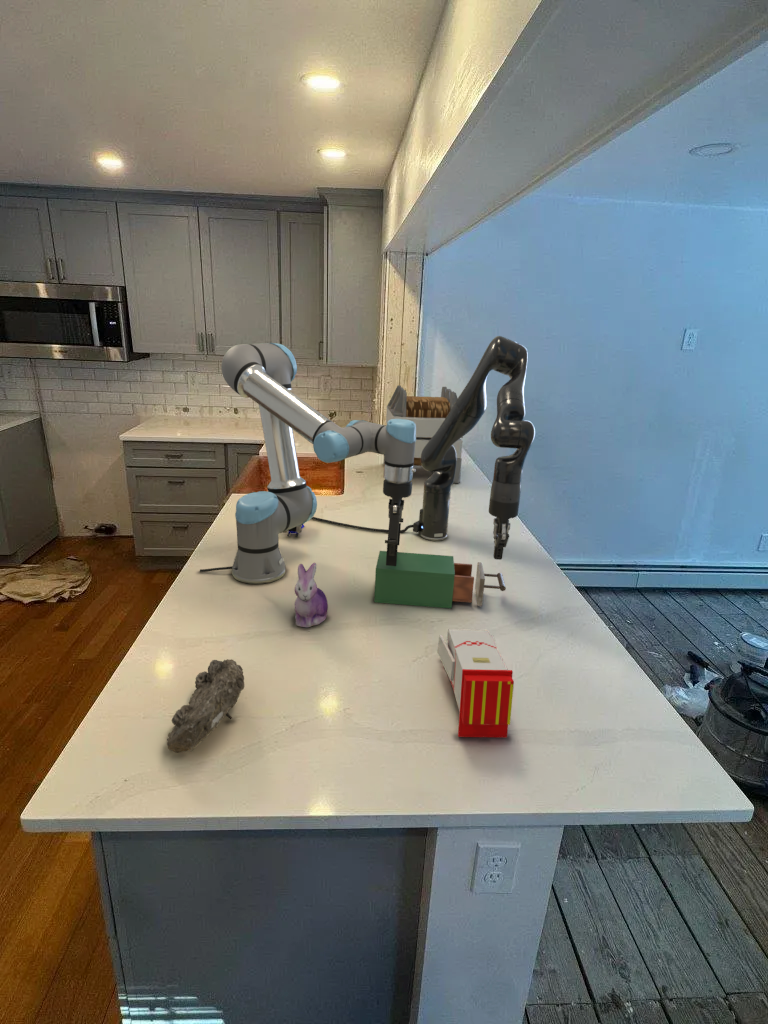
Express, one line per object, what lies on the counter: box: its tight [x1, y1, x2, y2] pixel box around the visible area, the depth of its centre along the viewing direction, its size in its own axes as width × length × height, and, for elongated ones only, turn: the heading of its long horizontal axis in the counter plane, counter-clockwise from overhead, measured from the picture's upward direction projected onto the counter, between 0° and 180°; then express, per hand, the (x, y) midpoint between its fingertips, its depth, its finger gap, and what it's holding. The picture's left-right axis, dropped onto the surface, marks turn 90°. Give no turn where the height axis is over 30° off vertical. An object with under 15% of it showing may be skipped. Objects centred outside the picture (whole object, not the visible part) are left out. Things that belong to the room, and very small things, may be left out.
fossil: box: [166, 658, 245, 754], centre depth 106 cm, size 22×10×15 cm
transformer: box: [383, 384, 464, 484], centre depth 268 cm, size 34×33×41 cm
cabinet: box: [373, 550, 455, 609], centre depth 156 cm, size 21×12×10 cm, turn 85°
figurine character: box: [282, 524, 305, 538], centre depth 196 cm, size 7×8×15 cm
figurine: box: [293, 562, 329, 628], centre depth 140 cm, size 9×10×15 cm
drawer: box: [452, 561, 507, 607], centre depth 155 cm, size 25×10×8 cm, turn 85°
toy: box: [437, 628, 515, 738], centre depth 117 cm, size 12×13×30 cm
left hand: (392, 554), depth 154 cm, fingers open, 13 cm apart
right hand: (497, 558), depth 152 cm, fingers closed
